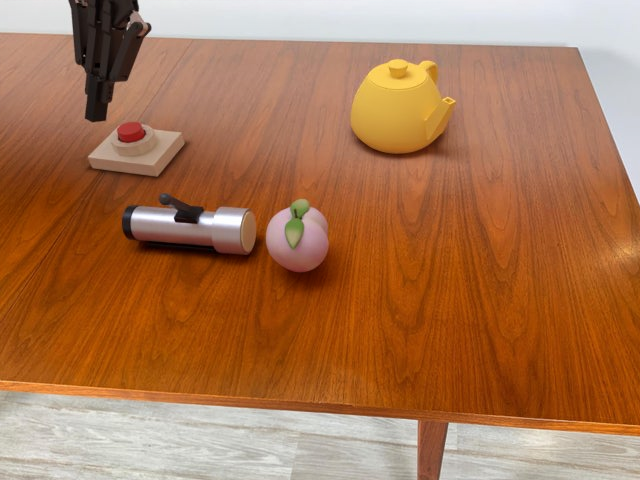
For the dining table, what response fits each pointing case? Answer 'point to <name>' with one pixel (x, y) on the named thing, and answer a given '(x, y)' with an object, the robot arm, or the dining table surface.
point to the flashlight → (192, 228)
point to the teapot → (400, 107)
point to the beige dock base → (137, 152)
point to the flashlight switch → (174, 203)
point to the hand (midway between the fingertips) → (95, 119)
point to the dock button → (130, 132)
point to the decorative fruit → (298, 237)
